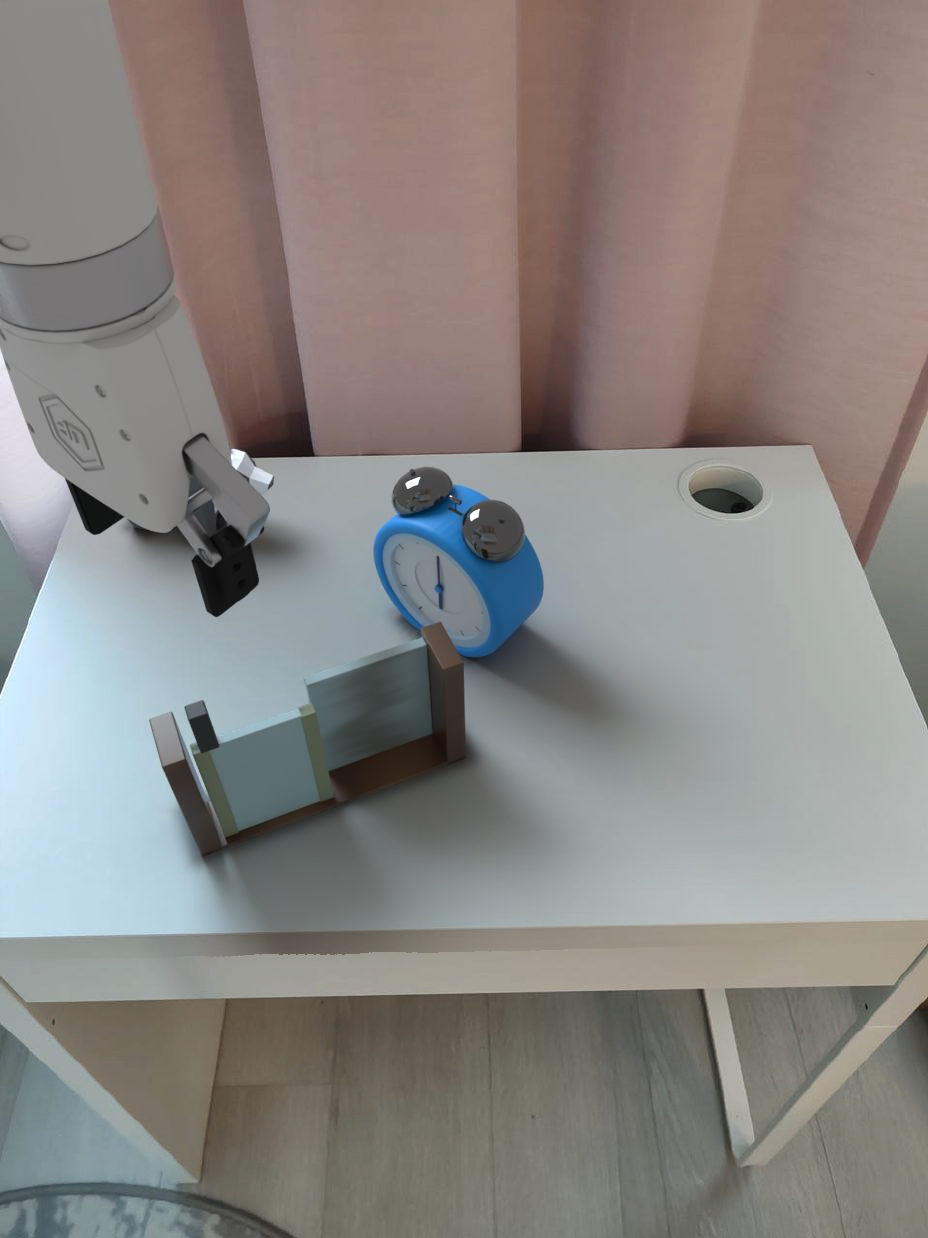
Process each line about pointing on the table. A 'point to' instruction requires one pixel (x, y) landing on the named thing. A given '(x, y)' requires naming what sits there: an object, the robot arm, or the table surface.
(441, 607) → the alarm clock
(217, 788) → the pane
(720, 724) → the table surface
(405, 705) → the window frame
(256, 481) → the giant panda
